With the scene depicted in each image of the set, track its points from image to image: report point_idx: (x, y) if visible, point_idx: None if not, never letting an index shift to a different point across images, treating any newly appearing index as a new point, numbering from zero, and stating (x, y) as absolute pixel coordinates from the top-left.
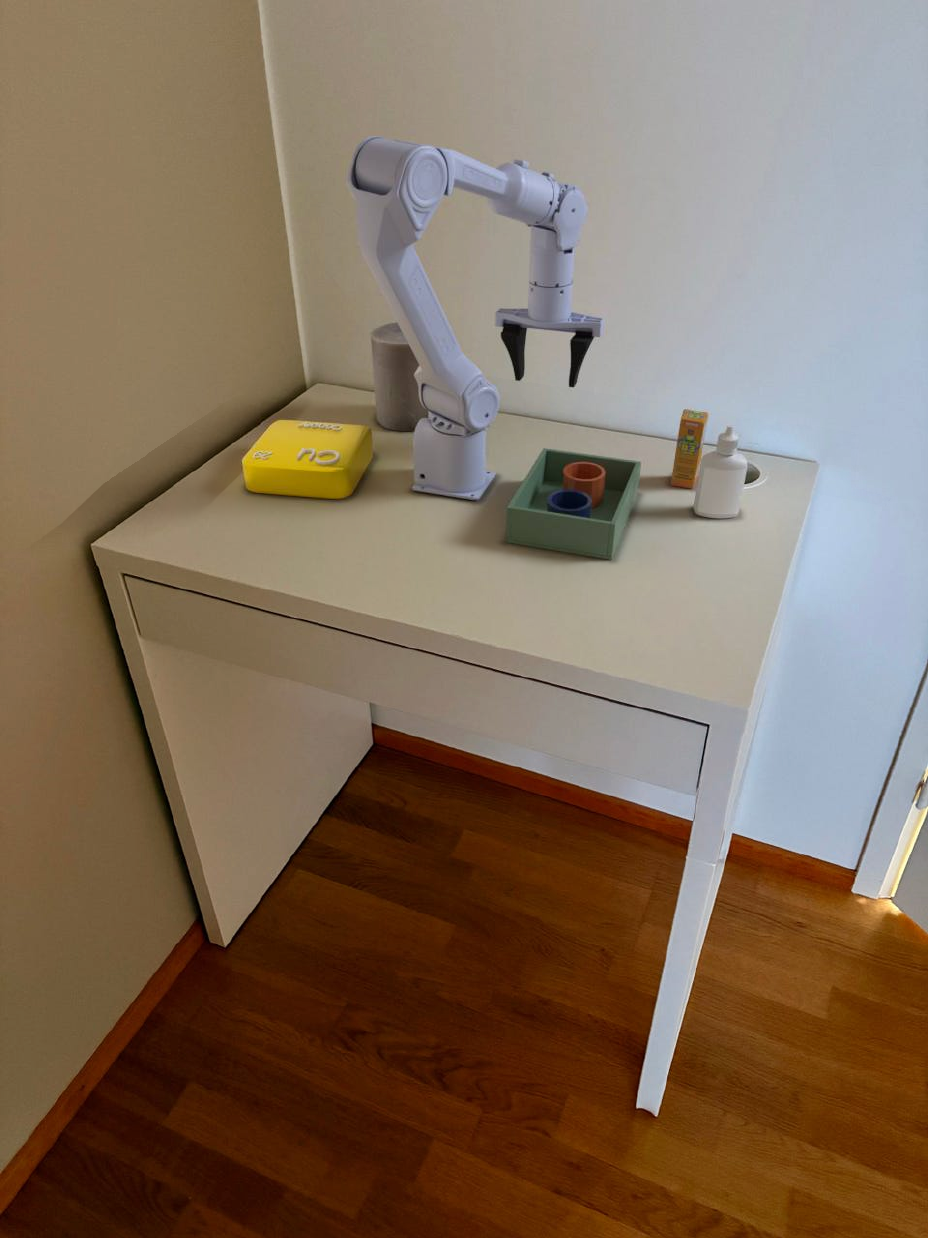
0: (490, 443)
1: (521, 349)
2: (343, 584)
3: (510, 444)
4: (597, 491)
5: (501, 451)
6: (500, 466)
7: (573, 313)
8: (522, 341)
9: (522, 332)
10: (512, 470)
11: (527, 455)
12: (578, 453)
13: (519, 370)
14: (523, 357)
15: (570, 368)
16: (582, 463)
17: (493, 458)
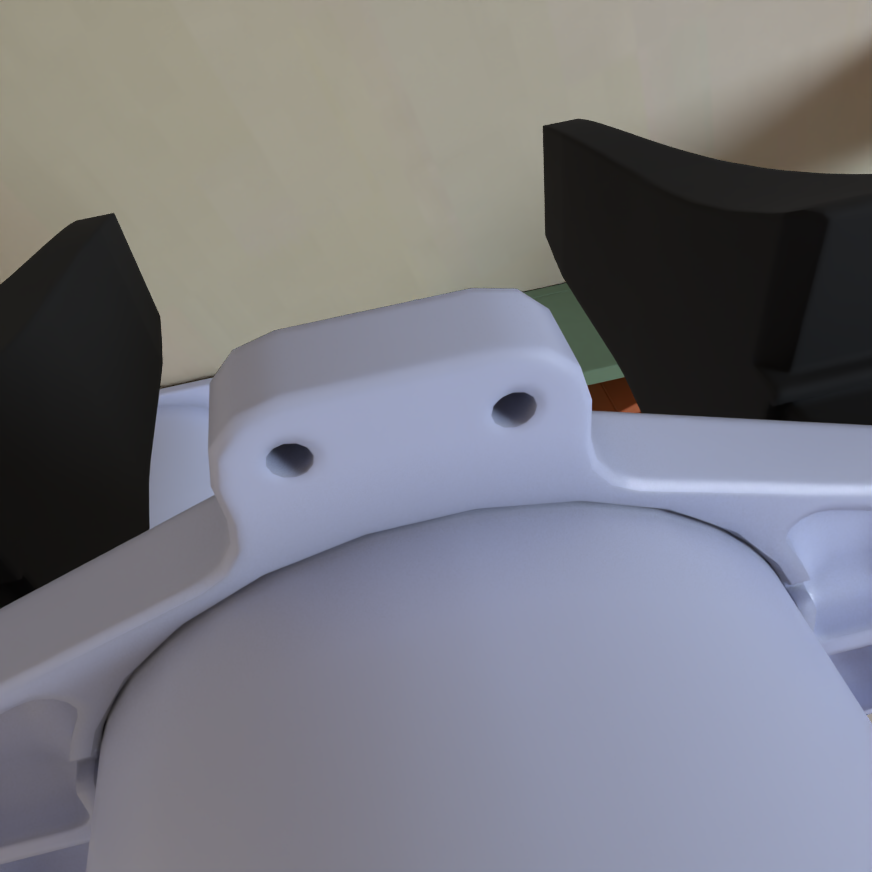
0: (4, 106)
1: (97, 432)
2: None
3: (106, 61)
4: None
5: (125, 163)
6: (221, 292)
7: (833, 502)
8: (73, 466)
9: (64, 563)
10: (286, 297)
11: (264, 139)
12: (614, 370)
13: (156, 381)
14: (83, 305)
15: (609, 347)
16: (639, 411)
17: (144, 246)
